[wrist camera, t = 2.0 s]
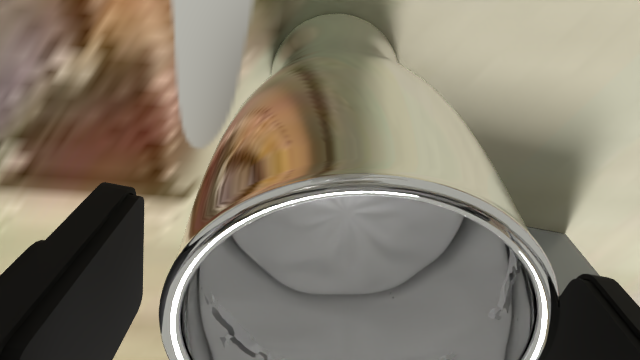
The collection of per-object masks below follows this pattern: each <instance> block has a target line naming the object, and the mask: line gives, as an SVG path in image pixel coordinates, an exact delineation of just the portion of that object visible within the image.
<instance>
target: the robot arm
mask: <svg viewBox="0 0 640 360" xmlns="http://www.w3.org/2000/svg"><path fill="white" fill-rule="evenodd" d="M143 243H144V199H143V197H141V196H136V192H135V189H134V188H132V187H127V186H122V185H117V184H111V183H106V182H104V183H101V184H100V185H99V186H98V187H97V188H96V189H95V190H94V191H93V192H92V193H91V194H90V195H89V196H88V197H87V198H86V199H85V200H84V201H83V202H82V203H81V204H80V205H79V206H78V207H77V208H76V209H75V210H74V211H73V212H72V213H71V214H70V215H69V216H68V217H67V218H66V220H65V221H64V222H63V223H62V224H61V225H60V226H59V227H58V228H57V229H56V230H55V231H54V232H53V233H52V234H51V235H50V236H49V237H48V238H47V239H46V240H40V241H37V242H35V243H34V244H32V245H31V246H30V247H29V248H28V249H27V250H26V251H24V252H23V253H22V254H21V255H20V256H19V257H18V258H17V259H16V260H15V261H14V262H13V263H12V264H11V265H10V266H9V267H8V268H7V269H6V270H5V271H4V272H3V273H2V274H1V275H0V360H112V359H113V358H114V356H115V354H116V352H117V350H118V348H119V346H120V344H121V342H122V340H123V338H124V337H125V335H126V333H127V331H128V329H129V327H130V325H131V323H132V321H133V319H134V317H135V315H136V314H137V312H138V309H139V307H140V304H141V300H142V294H143ZM545 360H640V307H639V306H638V305H637V304H636V303H635V302H634V300H633V299H632V298H631V297H630V296H629V295H628V294H627V293H626V291H625V290H624V289H623V288H622V287H621V286H620V285H619V284H618V283H617V282H616V281H615V280H614V279H611V278H607V277H602V276H597V275H591V274H582V275H580V276H578V277H577V278H576V279H573V280H571V281H570V282H569V284H568V285H567V287H566V288H565V289H564V291H563V292H562V294H561V295H560V317H559V324H558V329H557V332H556V336H555V339H554V342H553V344H552V347H551V349H550V351H549V353H548V355H547V357H546V359H545Z"/></svg>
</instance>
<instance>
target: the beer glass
mask: <svg viewBox="0 0 640 360" xmlns="http://www.w3.org/2000/svg"><path fill="white" fill-rule="evenodd" d="M559 317H560V295H559V289H558V284H557V280H556V277H555V274H554V271H553V268H552V266H551V264H550V262H549V260H548V258H547V256H546V254H545V253H544V251H543V249H542V248H541V247H540V245H539V244H538V242H537V241H536V240H535V239H534V238H533V236H532V235H531V234H530V232H529V230H528V229H527V227H526V225H525V223H524V221H523V220H522V218H521V216H520V214H519V212H518V210H517V208H516V206H515V204H514V202H513V201H512V199H511V197H510V195H509V193H508V191H507V189H506V187H505V185H504V184H503V182H502V180H501V178H500V177H499V175H498V173H497V171H496V169H495V168H494V166H493V164H492V162H491V161H490V159H489V157H488V156H487V154H486V153H485V151H484V150H483V148H482V147H481V145H480V144H479V142H478V141H477V139H476V138H475V136H474V135H473V133H472V132H471V130H470V129H469V128H468V126H467V125H466V123H465V122H464V121H463V119H462V118H461V117H460V116H459V115H458V114H457V112H456V111H455V110H454V109H453V108H452V107H451V106H450V105H449V103H448V102H447V101H446V100H445V99H444V98H443V97H442V96H441V95H440V94H439V93H438V92H437V91H436V90H435V89H434V88H433V87H432V86H431V85H430V84H428V83H427V82H426V81H424V80H423V79H422V78H420V77H419V76H417V75H416V74H414V73H413V72H411V71H410V70H409V69H407V68H405V67H404V66H402V65H400V64H399V63H398V62H397V58H396V55H395V52H394V50H393V48H392V46H391V44H390V42H389V41H388V39H387V38H386V37H385V36H384V34H383V33H382V32H381V31H380V30H379V29H377V28H376V27H375V26H374V25H372V24H371V23H369V22H367V21H365V20H363V19H361V18H359V17H356V16H352V15H348V14H339V13H334V14H324V15H320V16H317V17H314V18H311V19H309V20H307V21H305V22H303V23H301V24H300V25H298V26H297V27H296V28H295V29H293V30H292V31H291V32H290V33H289V34H288V35H287V37H286V38H285V39H284V41H283V42H282V43H281V45H280V47H279V49H278V51H277V53H276V55H275V58H274V61H273V65H272V71H271V76H270V77H269V78H268V79H266V80H265V81H264V82H263V83H262V84H261V85H260V86H259V87H258V88H257V89H256V90H255V91H254V92H253V94H252V95H251V96H250V97H249V98H248V99H247V100H246V101H245V102H244V103H243V105H242V106H241V107H240V109H239V110H238V112H237V113H236V115H235V116H234V118H233V120H232V121H231V123H230V125H229V126H228V128H227V130H226V131H225V133H224V134H223V136H222V138H221V140H220V141H219V143H218V145H217V147H216V150H215V152H214V154H213V156H212V159H211V161H210V163H209V166H208V168H207V170H206V172H205V175H204V177H203V180H202V182H201V185H200V188H199V190H198V193H197V196H196V199H195V202H194V205H193V208H192V211H191V213H190V217H189V220H188V223H187V226H186V229H185V233H184V236H183V239H182V242H181V245H180V248H179V251H178V254H177V257H176V260H175V262H174V264H173V266H172V267H171V269H170V271H169V273H168V276H167V278H166V281H165V283H164V286H163V290H162V294H161V299H160V306H159V328H160V334H161V338H162V342H163V345H164V348H165V351H166V354H167V356H168V358H169V360H545V359H546V357H547V355H548V353H549V351H550V349H551V347H552V344H553V342H554V339H555V336H556V332H557V329H558V324H559Z"/></svg>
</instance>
